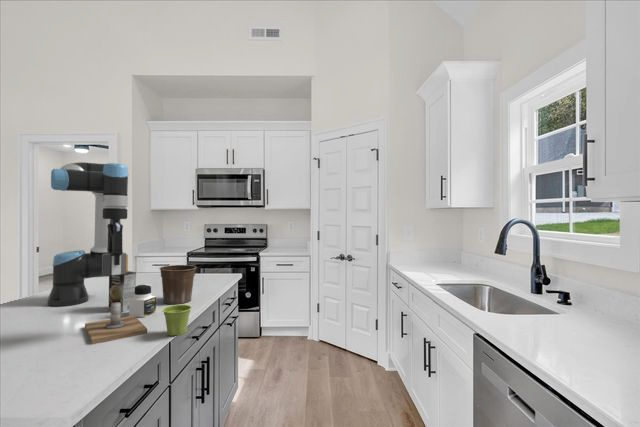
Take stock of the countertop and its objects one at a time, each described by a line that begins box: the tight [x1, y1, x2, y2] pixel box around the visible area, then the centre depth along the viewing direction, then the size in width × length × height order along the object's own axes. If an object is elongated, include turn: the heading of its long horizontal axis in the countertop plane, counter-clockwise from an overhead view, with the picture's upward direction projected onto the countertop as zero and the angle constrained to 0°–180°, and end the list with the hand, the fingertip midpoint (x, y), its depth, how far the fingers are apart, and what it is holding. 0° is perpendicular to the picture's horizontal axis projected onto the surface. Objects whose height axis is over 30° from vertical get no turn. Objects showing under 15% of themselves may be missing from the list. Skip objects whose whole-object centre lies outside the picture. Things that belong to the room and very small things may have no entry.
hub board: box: [84, 302, 148, 345], centre depth 120 cm, size 20×16×10 cm
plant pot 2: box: [161, 304, 193, 337], centre depth 118 cm, size 9×9×9 cm
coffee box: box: [108, 270, 137, 313], centre depth 147 cm, size 9×6×16 cm
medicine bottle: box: [128, 284, 157, 318], centre depth 139 cm, size 7×7×12 cm
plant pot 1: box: [159, 264, 198, 305], centre depth 161 cm, size 16×16×16 cm
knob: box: [102, 252, 129, 277], centre depth 120 cm, size 7×8×7 cm
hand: (114, 272), depth 120 cm, fingers closed on knob, 7 cm apart
